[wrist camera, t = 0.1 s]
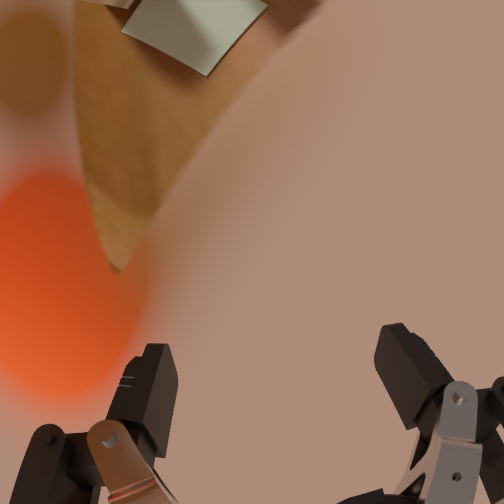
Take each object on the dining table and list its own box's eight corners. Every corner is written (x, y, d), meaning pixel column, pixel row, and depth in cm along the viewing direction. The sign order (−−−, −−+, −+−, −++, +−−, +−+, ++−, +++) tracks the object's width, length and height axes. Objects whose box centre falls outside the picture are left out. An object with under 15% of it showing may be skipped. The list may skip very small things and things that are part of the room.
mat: (121, 31, 23) (120, 31, 23) (179, -42, 17) (178, -43, 17) (206, 76, 29) (206, 76, 29) (268, 5, 23) (268, 5, 23)
